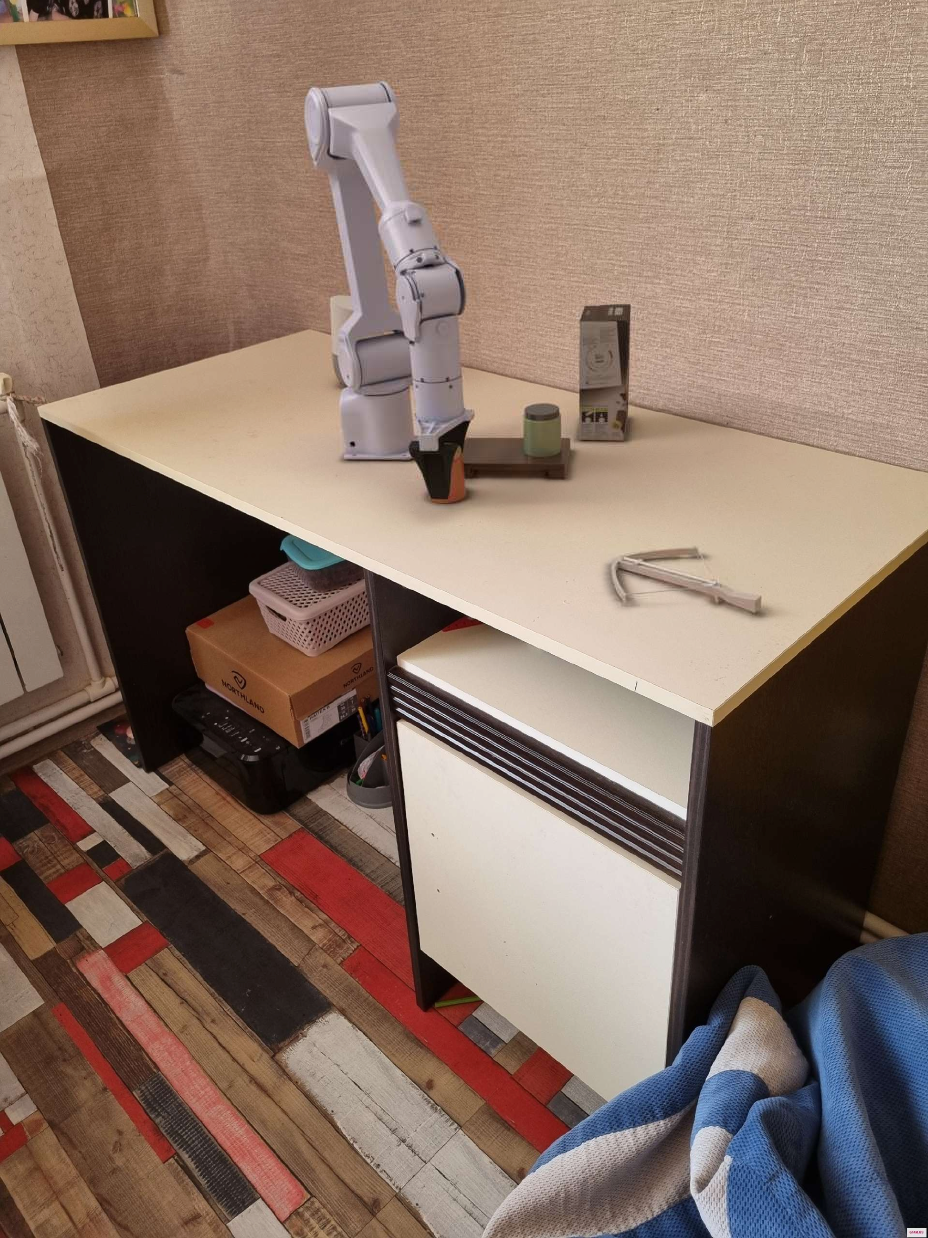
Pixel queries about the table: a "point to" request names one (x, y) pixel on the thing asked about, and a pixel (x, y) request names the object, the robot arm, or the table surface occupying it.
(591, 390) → the coffee box
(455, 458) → the spice jar
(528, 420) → the sage pot
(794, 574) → the table surface
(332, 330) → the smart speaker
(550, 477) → the stand
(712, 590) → the crossbow
